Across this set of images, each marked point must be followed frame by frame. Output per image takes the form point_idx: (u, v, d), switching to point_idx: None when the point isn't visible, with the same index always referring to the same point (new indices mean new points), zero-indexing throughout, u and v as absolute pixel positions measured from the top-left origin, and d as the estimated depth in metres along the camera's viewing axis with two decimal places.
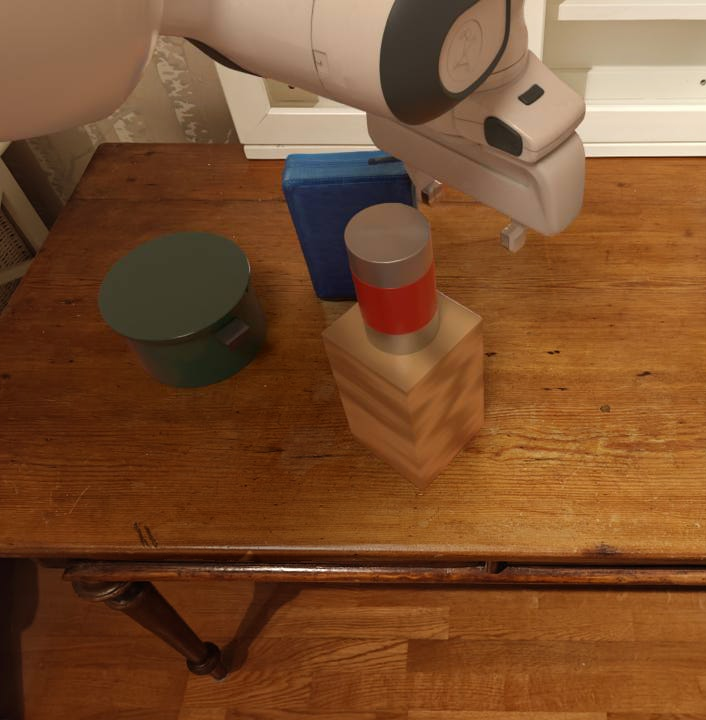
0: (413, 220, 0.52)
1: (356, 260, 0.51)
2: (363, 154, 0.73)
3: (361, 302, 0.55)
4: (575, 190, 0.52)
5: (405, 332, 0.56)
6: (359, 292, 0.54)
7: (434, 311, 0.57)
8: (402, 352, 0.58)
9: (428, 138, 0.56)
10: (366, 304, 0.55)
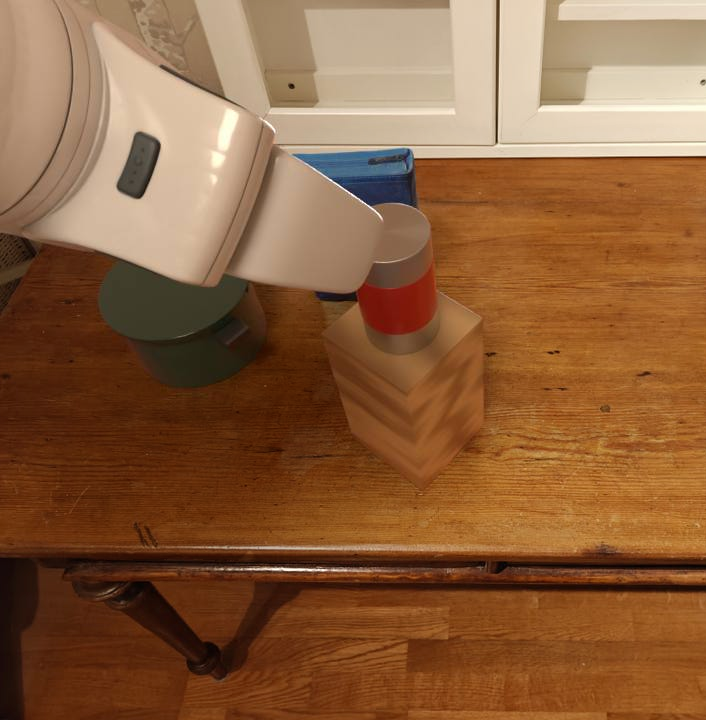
0: (413, 220, 0.52)
1: None
2: (363, 154, 0.73)
3: (361, 302, 0.55)
4: (343, 232, 0.28)
5: (405, 332, 0.56)
6: (359, 292, 0.54)
7: (434, 311, 0.57)
8: (402, 352, 0.58)
9: None
10: (366, 304, 0.55)
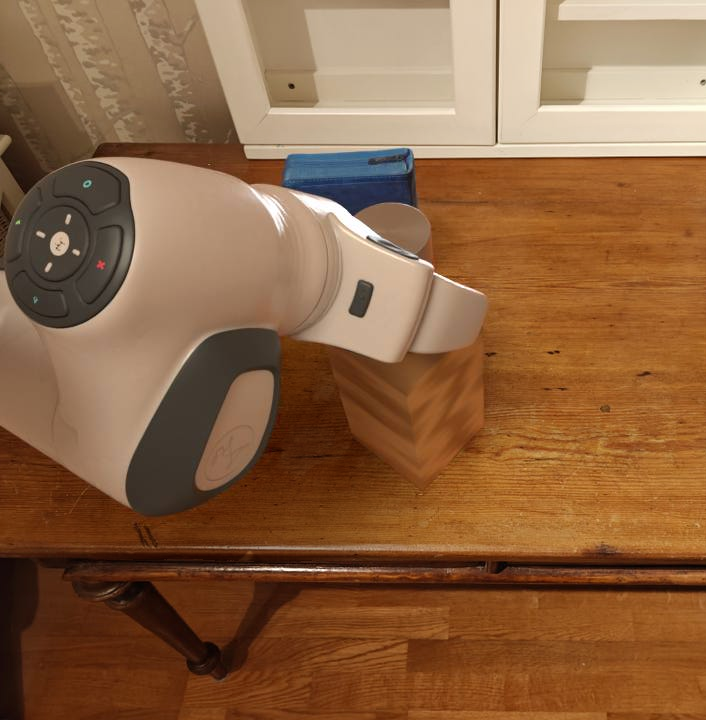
0: (413, 219, 0.53)
1: None
2: (363, 154, 0.73)
3: None
4: (468, 314, 0.45)
5: None
6: None
7: None
8: None
9: None
10: None
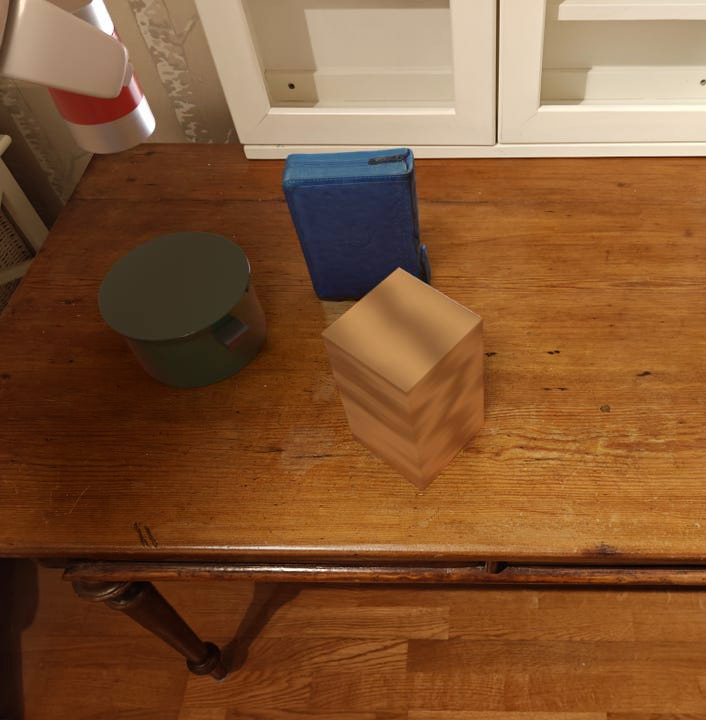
0: None
1: None
2: (363, 154, 0.73)
3: None
4: (84, 49, 0.43)
5: (97, 122, 0.54)
6: None
7: (132, 104, 0.55)
8: (105, 150, 0.56)
9: None
10: None
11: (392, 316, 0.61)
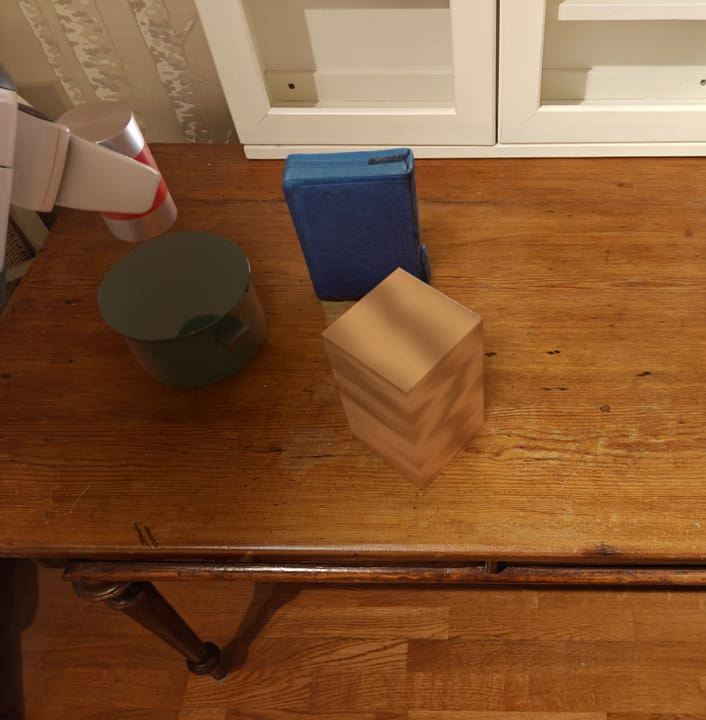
0: (118, 113, 0.60)
1: None
2: (363, 154, 0.73)
3: None
4: (124, 179, 0.53)
5: (129, 218, 0.64)
6: None
7: (159, 201, 0.65)
8: (135, 239, 0.66)
9: None
10: None
11: (392, 316, 0.61)
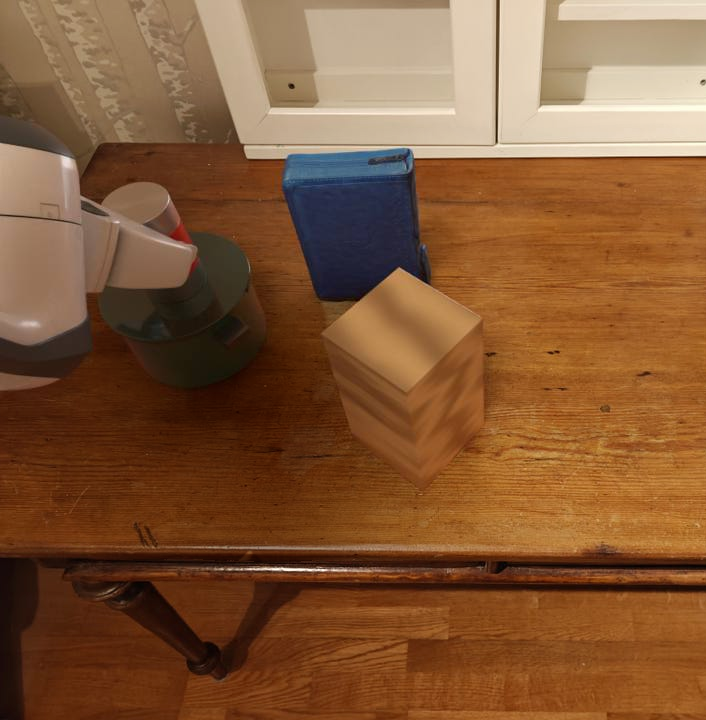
0: (157, 194, 0.68)
1: None
2: (363, 154, 0.73)
3: None
4: (164, 260, 0.60)
5: None
6: None
7: (191, 268, 0.72)
8: (169, 301, 0.74)
9: None
10: None
11: (392, 316, 0.61)
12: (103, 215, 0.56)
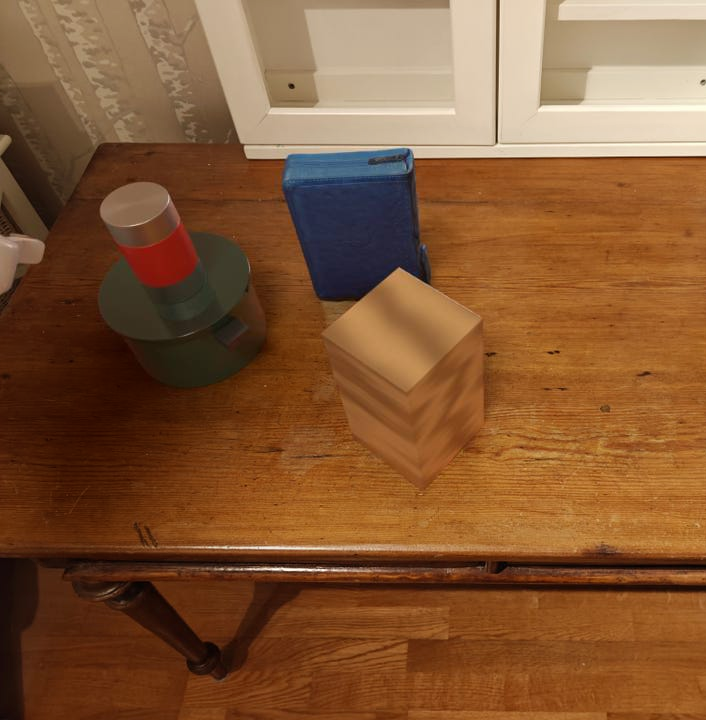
0: (157, 194, 0.68)
1: (107, 225, 0.66)
2: (363, 154, 0.73)
3: (126, 260, 0.70)
4: None
5: (165, 285, 0.72)
6: (121, 252, 0.69)
7: (191, 268, 0.72)
8: (169, 301, 0.74)
9: None
10: (128, 262, 0.70)
11: (392, 316, 0.61)
12: None
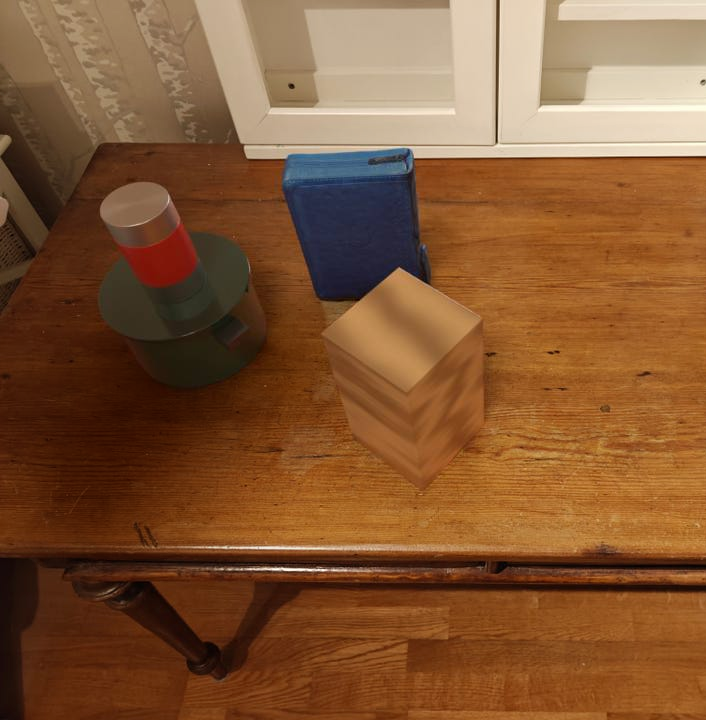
0: (157, 194, 0.68)
1: (107, 225, 0.66)
2: (363, 154, 0.73)
3: (126, 260, 0.70)
4: None
5: (165, 285, 0.72)
6: (121, 252, 0.69)
7: (191, 268, 0.72)
8: (169, 301, 0.74)
9: None
10: (128, 262, 0.70)
11: (392, 316, 0.61)
12: None
